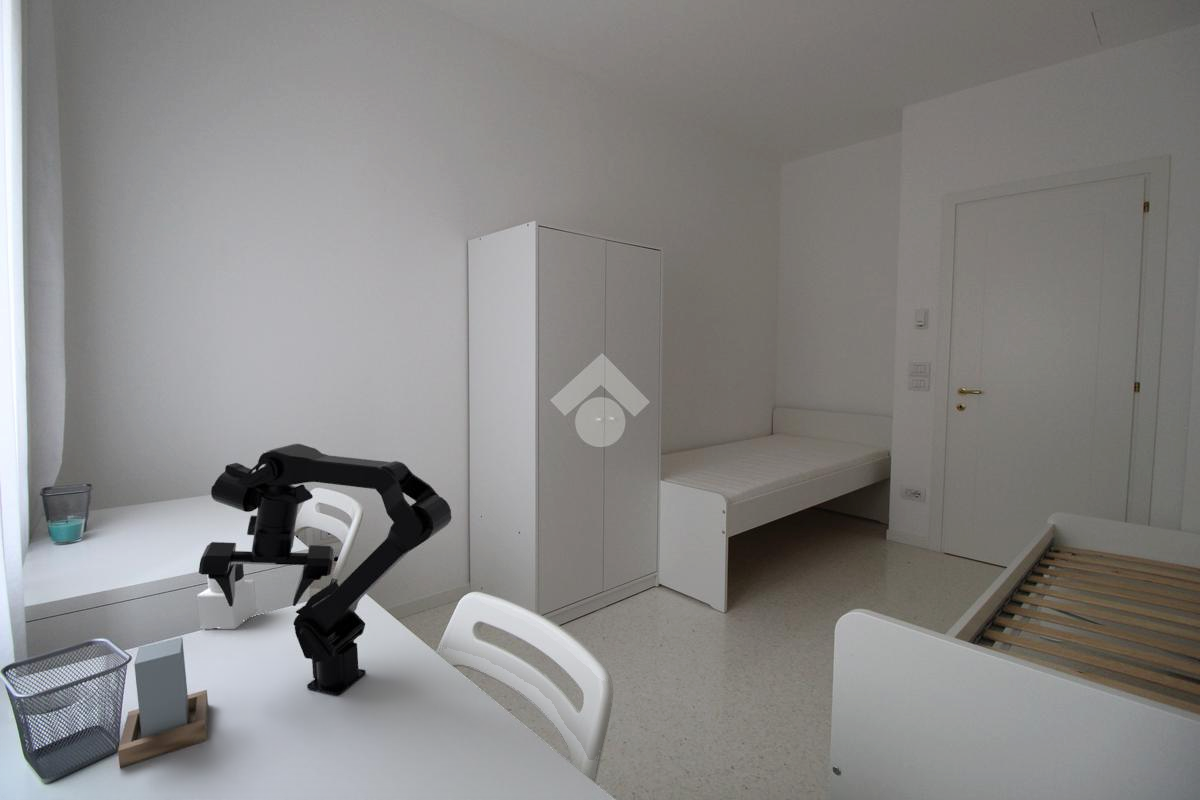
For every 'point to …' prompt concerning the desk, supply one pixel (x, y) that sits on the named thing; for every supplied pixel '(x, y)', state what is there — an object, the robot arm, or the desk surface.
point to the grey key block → (161, 687)
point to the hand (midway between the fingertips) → (263, 604)
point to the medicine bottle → (217, 608)
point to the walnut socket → (163, 734)
